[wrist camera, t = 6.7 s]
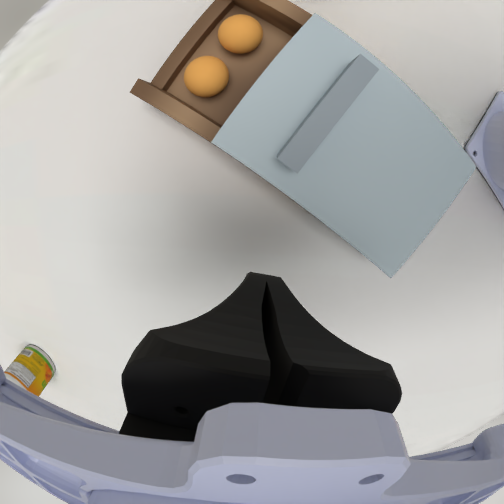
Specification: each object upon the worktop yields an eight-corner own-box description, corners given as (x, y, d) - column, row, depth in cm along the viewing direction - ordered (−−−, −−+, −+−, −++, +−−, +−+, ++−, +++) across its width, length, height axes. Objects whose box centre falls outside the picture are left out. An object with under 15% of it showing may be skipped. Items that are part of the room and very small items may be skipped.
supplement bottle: (51, 379, 31) (20, 426, 22) (24, 354, 30) (-11, 398, 21) (59, 364, 30) (23, 416, 21) (29, 336, 28) (-11, 384, 19)
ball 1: (239, 74, 17) (235, 64, 14) (215, 107, 18) (206, 102, 15) (206, 54, 16) (196, 43, 14) (182, 87, 17) (169, 80, 15)
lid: (471, 165, 15) (494, 171, 13) (387, 274, 18) (402, 293, 16) (313, 16, 12) (320, -1, 10) (212, 142, 16) (203, 143, 13)
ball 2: (271, 36, 16) (272, 21, 13) (247, 65, 16) (243, 54, 14) (237, 17, 15) (233, 1, 12) (213, 45, 16) (204, 33, 13)
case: (391, 102, 17) (415, 98, 14) (311, 206, 21) (320, 220, 17) (233, -6, 15) (226, -29, 11) (152, 98, 18) (129, 92, 15)
